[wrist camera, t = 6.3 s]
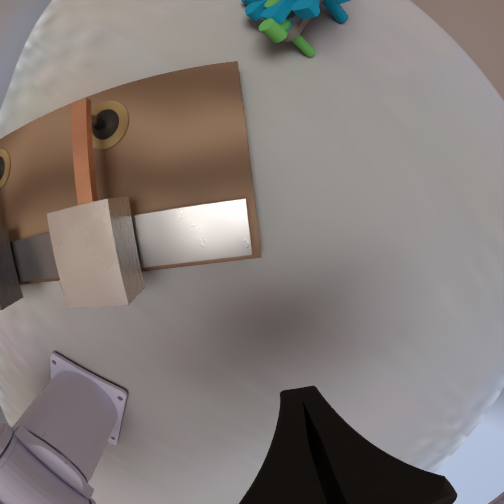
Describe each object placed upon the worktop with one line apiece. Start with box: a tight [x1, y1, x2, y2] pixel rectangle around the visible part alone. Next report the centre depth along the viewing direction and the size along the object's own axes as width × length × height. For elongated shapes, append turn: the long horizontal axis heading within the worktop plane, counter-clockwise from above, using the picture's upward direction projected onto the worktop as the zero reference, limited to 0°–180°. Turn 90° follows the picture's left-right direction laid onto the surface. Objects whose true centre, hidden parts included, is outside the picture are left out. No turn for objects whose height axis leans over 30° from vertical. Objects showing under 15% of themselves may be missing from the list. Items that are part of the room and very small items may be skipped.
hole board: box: [0, 61, 261, 285], centre depth 16 cm, size 12×22×2 cm, turn 97°
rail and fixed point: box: [0, 198, 252, 310], centre depth 14 cm, size 11×21×4 cm, turn 97°
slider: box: [47, 98, 145, 308], centre depth 13 cm, size 11×4×4 cm, turn 7°
